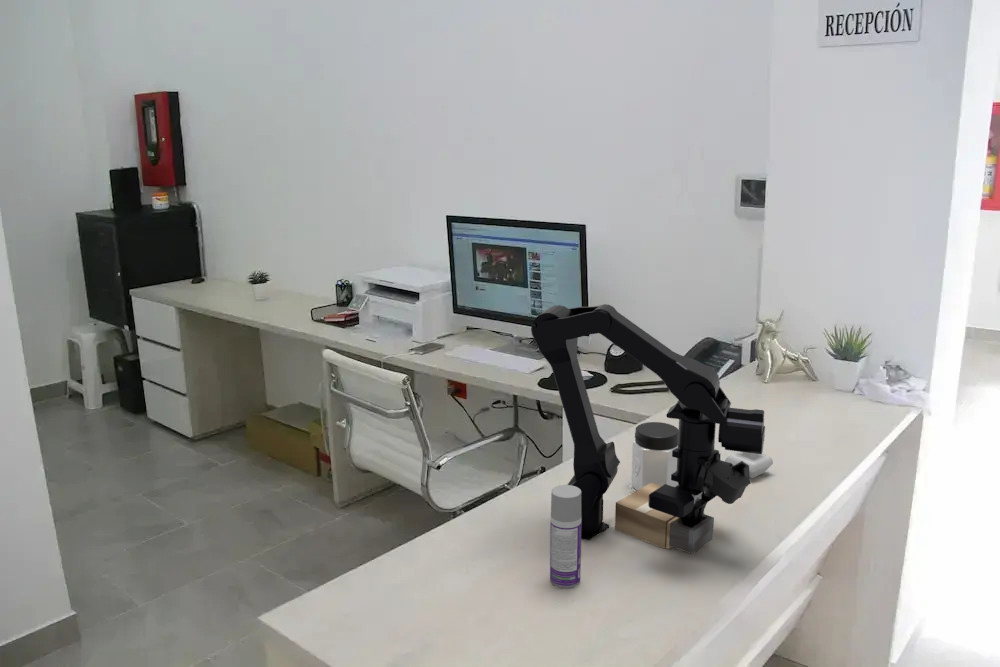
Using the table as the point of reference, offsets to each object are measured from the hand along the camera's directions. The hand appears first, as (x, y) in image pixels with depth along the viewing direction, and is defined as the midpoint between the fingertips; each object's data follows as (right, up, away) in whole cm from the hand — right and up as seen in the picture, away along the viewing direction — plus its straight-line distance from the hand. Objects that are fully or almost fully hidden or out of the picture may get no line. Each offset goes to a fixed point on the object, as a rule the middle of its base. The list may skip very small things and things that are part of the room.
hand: (691, 533), depth 137 cm
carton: (-4, -1, +7) cm, 8 cm away
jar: (-2, +3, +22) cm, 23 cm away
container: (-21, -5, -9) cm, 24 cm away
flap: (+1, -2, +2) cm, 3 cm away
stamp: (+18, +5, +28) cm, 34 cm away
